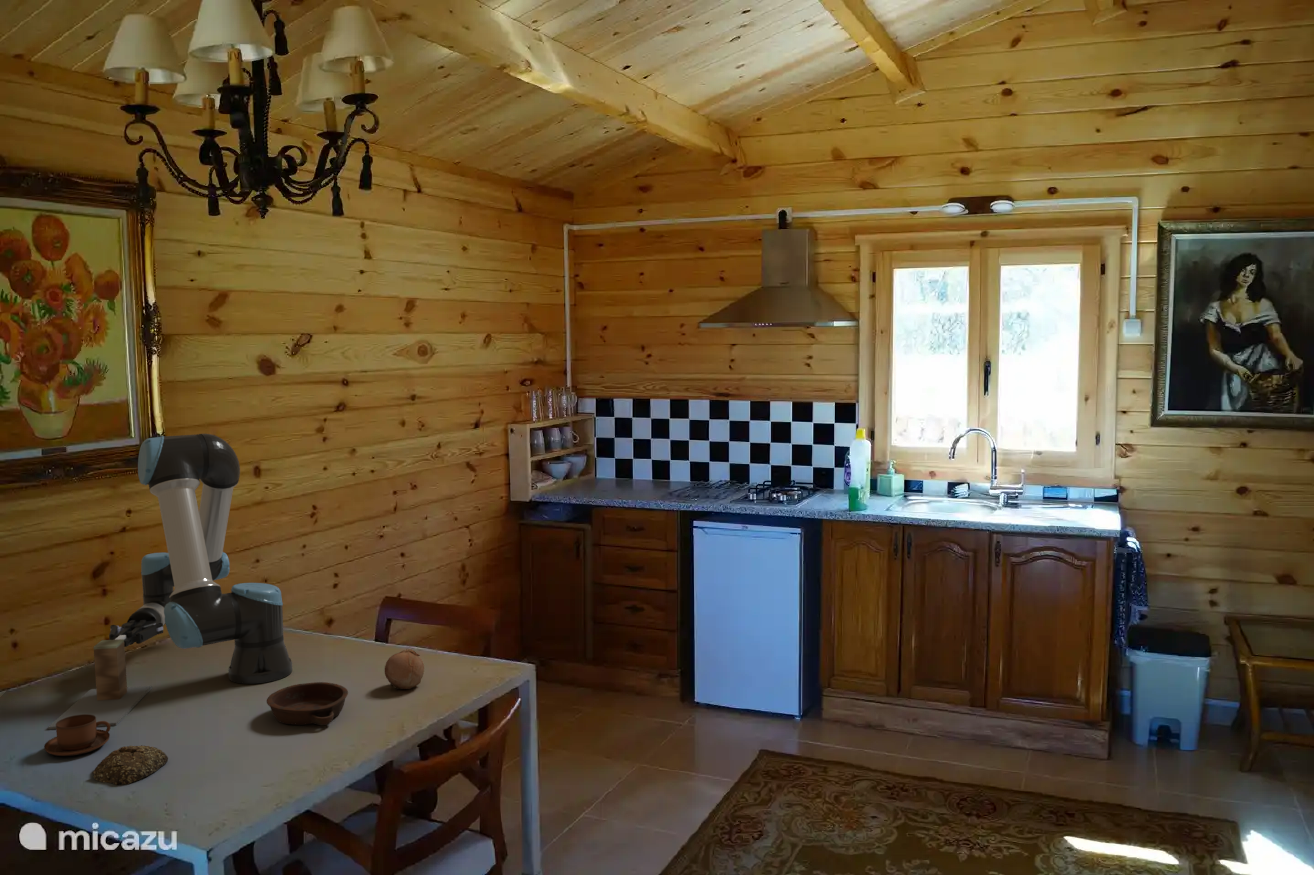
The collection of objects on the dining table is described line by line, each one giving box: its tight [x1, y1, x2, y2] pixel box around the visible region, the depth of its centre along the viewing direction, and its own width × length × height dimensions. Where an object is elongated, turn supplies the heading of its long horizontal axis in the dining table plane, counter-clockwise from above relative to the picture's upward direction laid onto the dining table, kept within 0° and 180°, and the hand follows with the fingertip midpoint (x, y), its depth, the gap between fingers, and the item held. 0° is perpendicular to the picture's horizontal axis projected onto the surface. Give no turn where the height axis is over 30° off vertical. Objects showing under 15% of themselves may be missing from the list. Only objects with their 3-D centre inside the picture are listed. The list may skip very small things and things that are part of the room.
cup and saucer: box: [43, 714, 111, 757], centre depth 214 cm, size 12×12×6 cm
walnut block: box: [93, 639, 128, 700], centre depth 243 cm, size 5×5×13 cm
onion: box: [384, 648, 425, 691], centre depth 250 cm, size 10×9×10 cm
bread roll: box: [92, 744, 169, 786], centre depth 204 cm, size 13×12×5 cm
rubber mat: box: [47, 685, 153, 730], centre depth 237 cm, size 14×24×1 cm, turn 9°
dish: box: [266, 681, 349, 726], centre depth 232 cm, size 18×22×5 cm
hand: (113, 648), depth 246 cm, fingers closed
